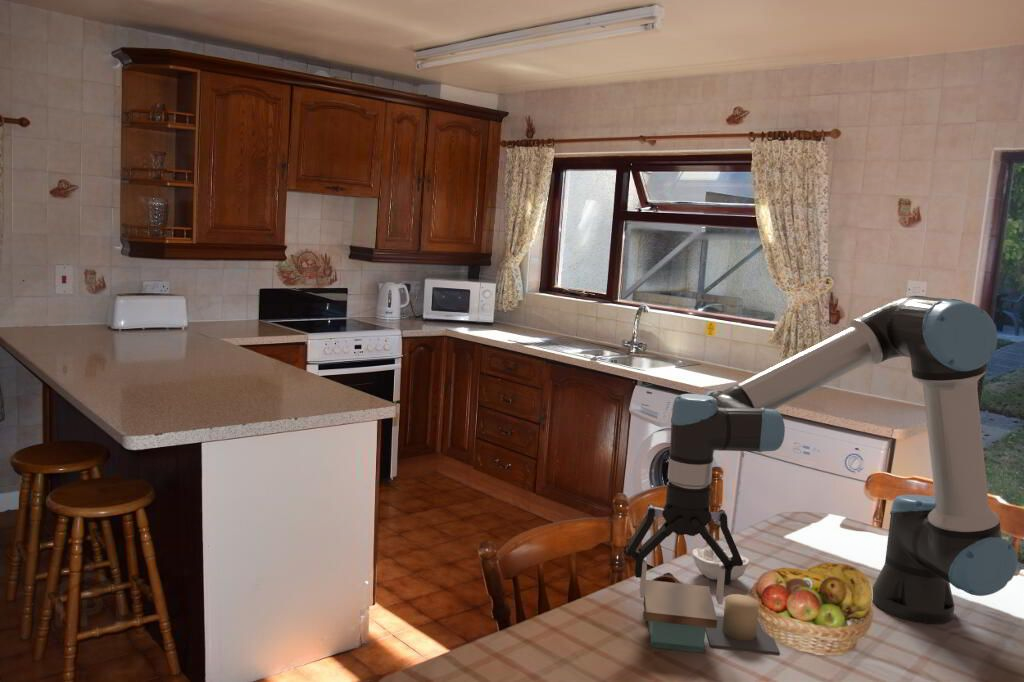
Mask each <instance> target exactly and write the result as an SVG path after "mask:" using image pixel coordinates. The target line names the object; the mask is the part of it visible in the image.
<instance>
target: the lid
mask: <svg viewBox="0 0 1024 682" xmlns="http://www.w3.org/2000/svg"><path fill="white" fill-rule="evenodd" d="M712 597H713V596H712V594H711V589H710V586H706V585H697V584H687V583H683V584H680V583H671V582H662V581H653V579H646V584H645V598H643V602H644V605H643V608H644V607H645V610H644V618H645V621H647V622H648V621H654V622H663V623H672V624H681V625H689V626H698V627H707V628H716V627H717V617H716V616H717V614H716V610H715V605H714V602H713V598H712Z"/></svg>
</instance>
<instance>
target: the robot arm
mask: <svg viewBox="0 0 1024 682" xmlns="http://www.w3.org/2000/svg"><path fill="white" fill-rule="evenodd" d="M997 331H998V330H997V327H996V325H995V322H994V320H993V319H992V317H991V316H990V314H989V313H988V312H987V311H986V310H984V309H983V308H981V307H980V306H978V305H977V304H975V303H974V304H973V303H971V302H966V301H964V300H961V299H956V298H940V297H930V296H925V295H910V296H909V295H908V296H903V297H900V298H897V299H895V300H892V301H890V302H887V303H885V304H882V305H880V306H878V307H876V308H874V309H872V310H869V311H868V312H866V313H864V314H862V315H860V316H858V317H856V318H854V319H852V320H850V321H849V325H848V327H847V328H846V329H843V330H842V331H840V332H839V333H838V332H837V333H836V334H834V335H832V336H830V337H828V338H826V339H823V340H822V341H821V342H820V341H819V343H816V344H814V345H812V346H811V347H810V346H809V348H806V349H804V350H802V351H800V352H798V353H797V354H794V355H792V356H790V357H789V358H787V359H785V360H783V361H780V362H779V363H777V364H774V365H772V366H771V367H769V368H767V369H765V370H763V371H761V372H758V373H757V374H755V375H753V376H751V377H749V378H747V379H744V380H743V381H741V382H739V383H736V384H734V385H733V386H731V387H729V388H726V389H723V390H722V391H721V390H709V391H706V392H704V393H702V394H698V393H684V394H683V393H682V394H679V395H677V396H676V397H675V398H674V400H673V407H672V411H671V412H672V413H671V418H670V441H669V442H670V443H669V459H668V469H667V479H668V481H667V482H666V493H665V494H666V495H665V504H664V506H663V507H657V506H654V505H653V504H652V503H650V504H648V505H647V507H646V513H645V516H644V517H643V519H642V521H641V523H640V524H639V526H638V528H637V529H636V531H635V533H634V534H633V536H632V537H631V539H630V540H629V541H628V544H627V545H626V547H625V552H626V554H625V555H626V556H627V557H629V558H632V559H634V560H635V563H634V576H635V578H636V579H637V578H639V579H640V581H639V598H643V599H644V598H645V584H646V580H647V568H648V567H647V566H648V560H647V556H649V554H651V553H652V552H653V551H654V550H655V549H656V548H657V547H658V546H659V545H660V544H661V543H662V542H664V540H665V539H666V538H668V537H670V536H671V535H672V534H673V533H674V534H676V535H677V536H684V535H686V536H690V537H695V536H697V535H700V536H701V538H702V539H703V540H704V541H705V543H707V545H708V547H709V546H710V547H711V549H712V550H713V551H714V553H715V554H716V555H717V557H718V558H719V559H720V561H721V562H722V563H719V566H718V579H717V580H716V590H715V591H716V593H715V594H716V595H715V599H716V602H717V605H720V606H721V605H723V604H724V603H723V602H724V589H725V586H730V584H731V580H730V579H731V570H732V569H733V567H734V566H742V565H743V561H742V559H741V557H740V554H741V553H740V552H739V550H738V548H737V545H736V543H735V541H734V538H733V536H732V532H731V531H730V529H729V526H728V515H727V514H726V511H725V510H724V509H719V510H718V511H710V500H711V490H712V489H711V486H710V484H711V483H712V477H713V476H712V475H713V462H714V453H715V451H719V452H720V451H721V452H722V451H723V452H724V451H726V452H727V451H728V452H732V451H733V452H756V453H757V452H758V453H762V452H775V451H777V450H779V449H780V447H782V445H783V442H784V440H785V432H786V429H785V428H786V427H785V422H784V419H783V416H782V414H781V413H780V412H779V411H778V410H777V409H779V408H781V407H783V406H785V405H787V404H789V403H791V402H792V401H795V400H797V399H799V398H801V397H803V396H804V395H806V394H809V393H810V392H813V391H814V390H817V389H819V388H821V387H822V386H824V385H826V384H827V385H828V384H829V383H830V382H832V381H835V380H836V379H839V378H841V377H843V376H845V375H846V374H849V373H850V372H852V371H854V370H857V369H858V368H860V367H863V366H865V365H867V364H873V365H879V364H880V363H882V362H885V361H887V360H889V359H894V358H899V357H903V358H904V357H907V358H910V365H911V366H910V367H911V376H912V378H913V379H914V380H915V381H917V382H918V383H920V384H921V385H922V390H923V392H922V393H923V398H924V400H923V401H924V408H925V409H924V410H925V418H926V427H927V438H928V447H929V457H930V466H931V473H932V475H931V476H932V483H933V485H932V486H933V494H934V495H933V496H932V495H922V494H902V495H901V494H900V495H897V496H896V497H894V499H893V501H892V505H891V509H890V511H889V515H890V517H889V526H888V527H889V528H888V535H887V543H886V552H885V559H884V565H883V567H882V568H881V571H879V574H878V575H877V578H876V580H875V582H874V583H873V586H872V588H871V590H872V589H873V601H872V603H873V604H874V605H876V606H877V607H878V608H879V609H881V610H883V611H884V612H886V613H888V614H890V615H893V616H895V617H898V618H901V619H905V620H908V621H913V622H916V623H917V622H918V623H925V624H943V623H944V624H945V623H949V622H951V621H952V620H953V618H954V613H955V602H954V598H953V592H952V589H951V585H952V586H953V587H954V588H956V589H957V590H961V591H963V592H965V593H967V594H969V595H971V596H972V595H973V596H977V597H984V596H990V595H993V594H996V593H998V592H1000V591H1001V590H1003V589H1004V588H1005V587H1006V586H1007V585H1008V583H1009V582H1010V581H1012V579H1013V578H1014V577H1015V574H1016V573H1017V569H1018V564H1019V558H1018V553H1017V551H1016V549H1015V547H1014V545H1012V544H1011V543H1010V542H1009V541H1008V540H1007V539H1005V538H1003V537H1002V532H1001V531H1002V530H1001V519H1000V516H999V514H998V513H997V512H995V511H994V510H993V509H991V508H990V505H989V494H988V486H987V484H988V483H987V474H986V465H985V453H984V444H983V434H982V423H981V422H982V421H981V415H980V414H981V413H980V412H981V411H980V403H979V402H980V401H979V393H978V381H979V380H980V379H981V378H982V377H983V376H984V375H986V372H987V371H986V364H987V363H988V362H990V360H991V359H992V355H993V353H995V351H996V349H997V344H998V332H997ZM661 516H662V517H663V520H664V523H662V525H661V526H660V528H658V530H657V531H656V532H654V533H653V535H651V536H650V537H649V538H648V539H647V540H646V541H645V542H644V543H643V544H642V545H641V543H642V541H643V540H644V538H645V537H646V535H647V533H648V531H649V530H650V529H651V527H652V525H653V523H654V521H657V520H658V519H659V517H661ZM712 520H713V521H714V523H715V525H718V526H719V527H720V530H721V532H722V534H723V535H722V536H723V537H724V539H725V541H726V544H727V546H728V550H730V551H731V553H732V556H733V557H730V558H729V557H728V556H727V555H726V553H725V552H724V551H723V550H722V548H723V547H721V545H720V544H719V543H718V541H717V540H716V538H715V537H714V536H713V534H711V533H710V531H709V529H708V528H707V525H708V524H709V523H710V522H711V521H712ZM640 545H641V546H640Z"/></svg>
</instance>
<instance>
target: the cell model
mask: <svg viewBox="0 0 1024 682" xmlns="http://www.w3.org/2000/svg"><path fill="white" fill-rule="evenodd" d="M721 548H722V550H723V551H724V552H725V553H726V555H727V556H728V557H729V558H730V557H733V556H732V553H731V551H730V549H729V548H728V549H727V548H724V547H721ZM691 552H692V553H691V554H692V558H693V561H694V563H695V566H696V568H697V569H698V571H699V573H701V574H702V575H703V576H705V577H706V578H708V579H710V580H716V581H717V579H718V566H719V563H722V562H721V561H720V559H719V558H718V557H717V555H716V554H715V553H714V551H713V550H712V549H711V547H710V546H709V545H708V546H707V547H705V546H704V547H697V548H693V549H692V551H691ZM739 554H740V557H741V559H742V561H743V565H742V566H734V567H733V569H732V570H731V579H730V581H734V580H738V579H739V578H741V577H743V575H744V573H745V572H746V570H747V567H749V564H750V562H751V561H750V559H749V558H747V557H746V556H744V555H742V554H741V553H739Z"/></svg>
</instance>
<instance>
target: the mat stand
mask: <svg viewBox="0 0 1024 682" xmlns="http://www.w3.org/2000/svg"><path fill="white" fill-rule="evenodd" d="M724 599H725V600H724V608H723V616H720V615H716V617H717V627H716V628H707V627H706V629H705V635H706V637H707V640H708V641H707V642H708V644H709V647H710V648H718V649H727V650H728V649H729V650H737V651H744V652H754V653H762V654H764V653H765V654H771V655H780V654H781V652H780V650H779V648H778V645H777V643H776V639H774V637H773V638H772V637H770V636H769V635H767V634H766V633H765V632H764V631H763V629H762V627H761V625H760V623H759V621H760V620H759V613H760V612H759V611H760V602H759V601H758V600H757V599H756V598H754V597H752V596H749V595H745V594H737V593H736V594H735V593H734V594H733V593H732V594H728V595H726V597H725V598H724ZM758 620H759V621H758Z"/></svg>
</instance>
